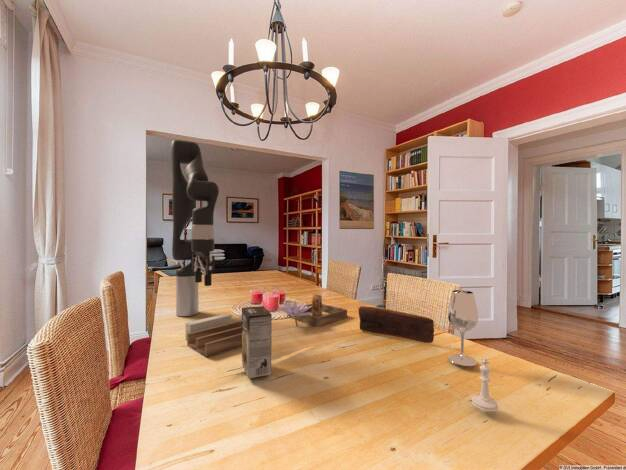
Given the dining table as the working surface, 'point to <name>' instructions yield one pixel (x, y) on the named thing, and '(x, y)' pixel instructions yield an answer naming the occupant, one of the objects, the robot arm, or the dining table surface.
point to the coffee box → (256, 341)
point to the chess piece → (484, 391)
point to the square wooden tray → (333, 316)
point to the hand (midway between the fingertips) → (203, 284)
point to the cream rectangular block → (207, 323)
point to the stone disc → (317, 305)
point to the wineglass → (462, 321)
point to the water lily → (295, 310)
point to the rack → (216, 339)
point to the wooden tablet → (396, 324)
